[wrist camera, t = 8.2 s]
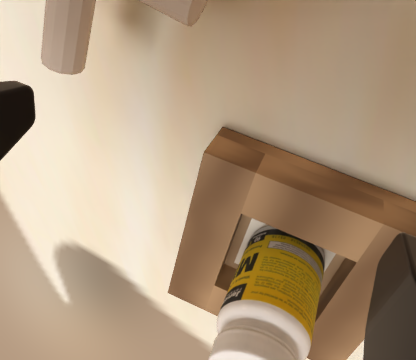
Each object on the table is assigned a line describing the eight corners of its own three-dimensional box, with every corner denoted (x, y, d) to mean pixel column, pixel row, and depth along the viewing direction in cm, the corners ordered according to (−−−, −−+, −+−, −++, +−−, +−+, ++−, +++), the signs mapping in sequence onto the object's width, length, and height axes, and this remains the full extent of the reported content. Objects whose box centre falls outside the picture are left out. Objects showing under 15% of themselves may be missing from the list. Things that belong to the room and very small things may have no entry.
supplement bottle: (259, 210, 23) (209, 328, 17) (338, 241, 22) (319, 378, 16) (240, 263, 26) (191, 382, 19) (309, 292, 25) (283, 426, 19)
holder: (436, 209, 20) (443, 248, 18) (339, 332, 28) (335, 371, 25) (222, 127, 22) (203, 152, 20) (184, 262, 30) (167, 292, 27)
